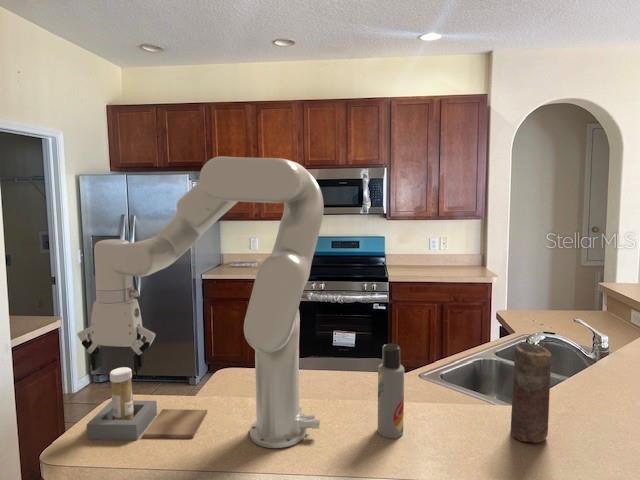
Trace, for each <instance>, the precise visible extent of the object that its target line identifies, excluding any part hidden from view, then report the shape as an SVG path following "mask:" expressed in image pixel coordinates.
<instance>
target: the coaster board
mask: <svg viewBox="0 0 640 480" xmlns="http://www.w3.org/2000/svg"><path fill="white" fill-rule="evenodd" d="M207 414H208V409H174V408H173V409H171V408H169V409H168V408H167V409H166V408H165V409H164V408H162V409H161V411H160V412H159V413H158V414H157V415H156V417H155V418H154V419H153V420H152V422H151V423H150V424H149V425H148V427H147V428H146V429H145V431H144V432H143V433H142V435H143V438H151V439H152V438H154V439H155V438H156V439H157V438H158V439H161V438H162V439H165V438H166V439H194V437H195V435H197V432H198V430H199V429H200V427H201V425H202V423H203V421H204V420H205V418H206V416H207Z"/></svg>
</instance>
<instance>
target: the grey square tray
mask: <svg viewBox="0 0 640 480" xmlns="http://www.w3.org/2000/svg"><path fill="white" fill-rule="evenodd" d="M133 409H134V410H133V414H134V418H133V419H132V420H114V416H113V407H112V399H111V400H110V402H108V403H107V404H106V405H105V406H104V407H103V408H102V409H101V410H100V411H99V412H98V413H96V415H95V416H94V417H92V418H91V420H89V421H88V422H87V423H86V431H87V432H86V435H87V437H86V438H87V440H107V441H108V440H111V441H112V440H113V441H119V440H120V441H122V440H123V441H138V440H139V438H140V437H141V436H142V435H143V434H144V433H145V431H146V430H147V429H148V428H149V426H150V425H151V424H152V422H153V421H154V420H155V419H156V417H157V416H158V406H157V400H133ZM155 416H156V417H155Z"/></svg>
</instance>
